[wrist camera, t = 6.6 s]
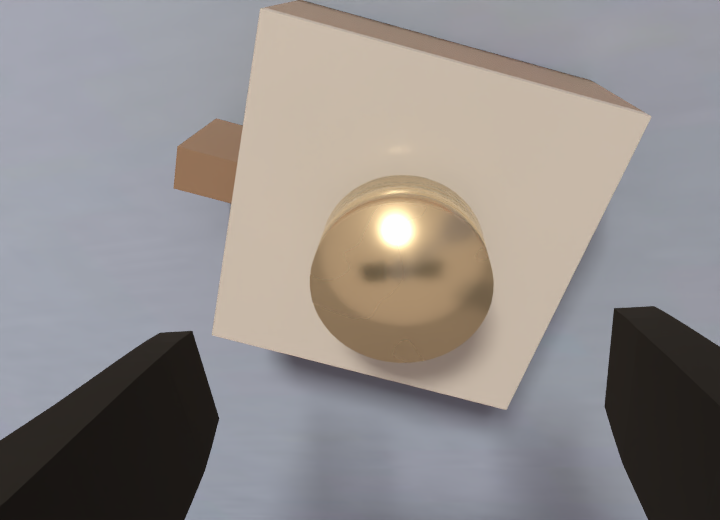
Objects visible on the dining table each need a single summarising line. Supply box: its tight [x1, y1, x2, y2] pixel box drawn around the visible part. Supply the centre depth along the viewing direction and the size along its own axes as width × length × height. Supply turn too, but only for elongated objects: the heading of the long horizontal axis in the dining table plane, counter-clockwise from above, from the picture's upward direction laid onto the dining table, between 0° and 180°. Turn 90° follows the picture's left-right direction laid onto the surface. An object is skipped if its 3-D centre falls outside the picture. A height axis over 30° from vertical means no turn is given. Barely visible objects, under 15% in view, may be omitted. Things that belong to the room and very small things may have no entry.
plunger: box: [310, 175, 494, 363], centre depth 15 cm, size 4×4×6 cm
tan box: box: [174, 0, 652, 410], centre depth 16 cm, size 11×9×5 cm
